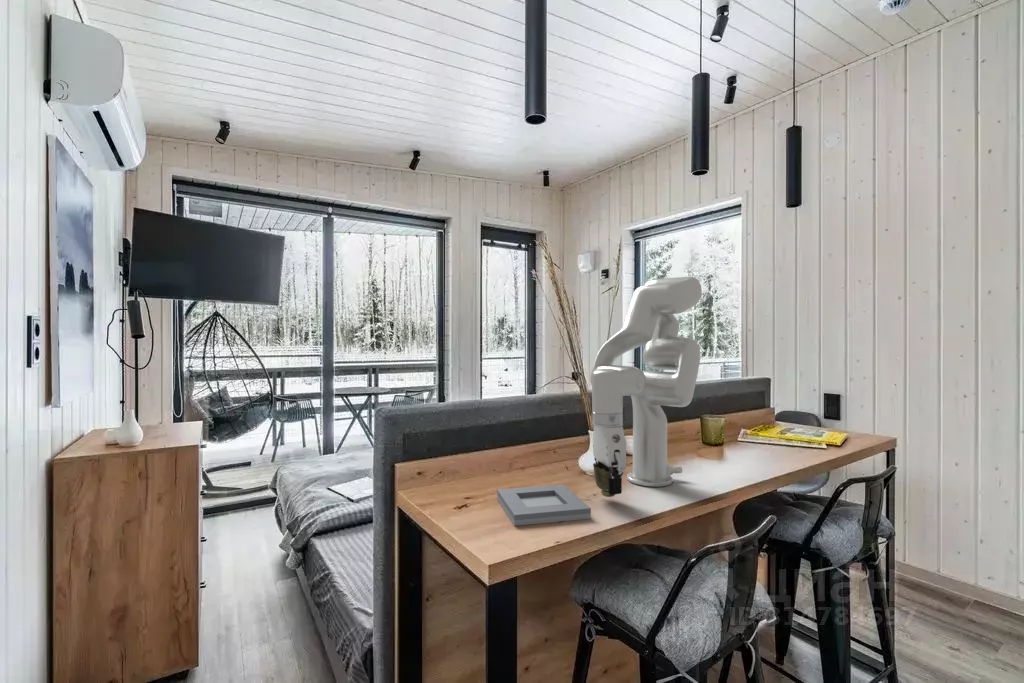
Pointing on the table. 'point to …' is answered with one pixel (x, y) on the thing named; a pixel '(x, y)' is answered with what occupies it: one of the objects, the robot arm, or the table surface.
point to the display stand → (542, 504)
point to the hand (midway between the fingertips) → (608, 488)
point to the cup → (603, 477)
